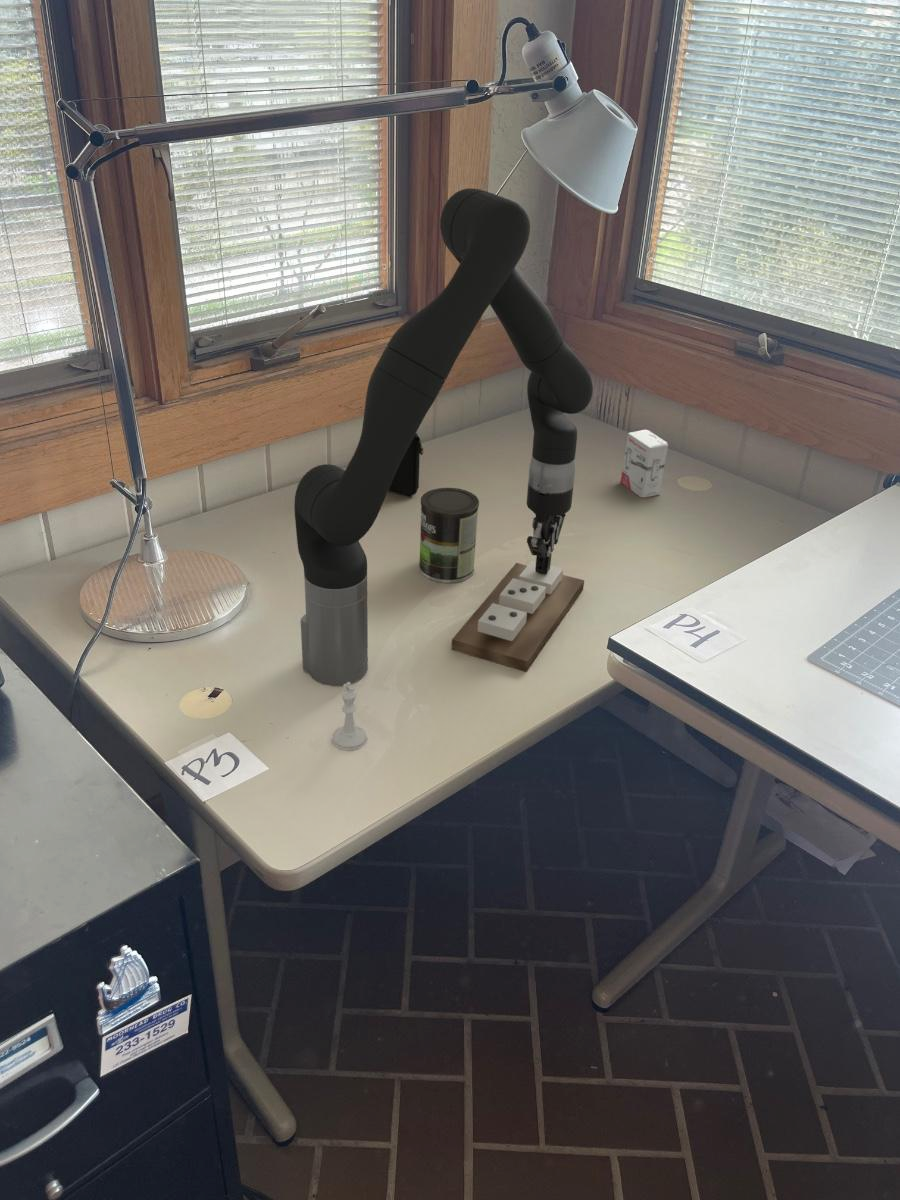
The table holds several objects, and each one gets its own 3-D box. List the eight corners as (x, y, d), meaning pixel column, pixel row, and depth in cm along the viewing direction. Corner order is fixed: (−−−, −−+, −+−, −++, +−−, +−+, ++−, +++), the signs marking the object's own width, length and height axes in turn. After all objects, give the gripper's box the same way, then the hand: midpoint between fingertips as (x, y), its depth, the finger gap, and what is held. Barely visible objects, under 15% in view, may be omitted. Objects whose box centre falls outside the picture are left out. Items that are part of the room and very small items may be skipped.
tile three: (498, 604, 169) (499, 593, 168) (512, 588, 174) (513, 577, 173) (532, 614, 167) (533, 602, 166) (545, 597, 172) (546, 585, 170)
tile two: (477, 631, 162) (478, 619, 161) (491, 613, 167) (492, 602, 166) (512, 641, 160) (513, 629, 159) (525, 622, 165) (527, 611, 163)
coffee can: (430, 587, 180) (432, 516, 172) (411, 559, 188) (412, 491, 180) (483, 579, 183) (488, 509, 175) (462, 552, 191) (466, 484, 183)
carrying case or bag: (425, 496, 210) (427, 430, 202) (417, 502, 208) (418, 435, 200) (383, 483, 215) (383, 418, 207) (374, 488, 212) (374, 422, 205)
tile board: (451, 649, 163) (452, 639, 162) (515, 572, 185) (516, 562, 184) (526, 671, 159) (527, 661, 158) (583, 589, 181) (584, 580, 180)
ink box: (619, 482, 220) (626, 431, 214) (637, 478, 222) (645, 428, 215) (641, 498, 213) (649, 446, 207) (660, 495, 215) (669, 443, 209)
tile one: (518, 585, 177) (519, 575, 175) (530, 570, 181) (531, 559, 180) (550, 594, 175) (551, 583, 173) (562, 578, 179) (563, 568, 178)
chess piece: (349, 724, 147) (348, 668, 141) (374, 738, 144) (374, 682, 139) (324, 740, 143) (322, 683, 138) (349, 755, 141) (349, 698, 135)
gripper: (543, 462, 174) (535, 550, 183) (515, 492, 164) (508, 583, 173) (585, 471, 171) (575, 559, 181) (559, 502, 161) (549, 594, 170)
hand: (542, 571), depth 177 cm, fingers closed
